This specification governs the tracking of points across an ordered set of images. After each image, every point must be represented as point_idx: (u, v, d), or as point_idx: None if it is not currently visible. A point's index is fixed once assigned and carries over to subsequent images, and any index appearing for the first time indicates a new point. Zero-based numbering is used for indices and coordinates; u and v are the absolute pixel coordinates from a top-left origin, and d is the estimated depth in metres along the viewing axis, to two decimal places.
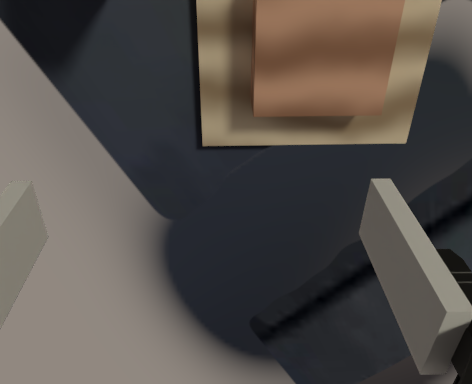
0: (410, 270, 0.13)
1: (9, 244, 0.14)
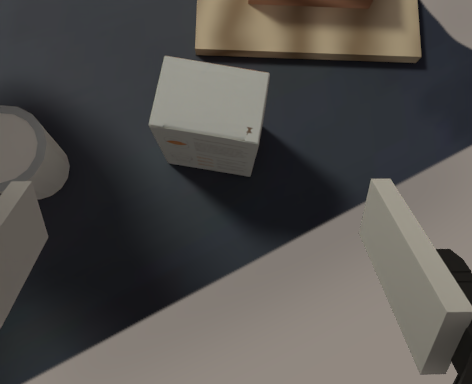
0: (410, 270, 0.13)
1: (9, 244, 0.14)
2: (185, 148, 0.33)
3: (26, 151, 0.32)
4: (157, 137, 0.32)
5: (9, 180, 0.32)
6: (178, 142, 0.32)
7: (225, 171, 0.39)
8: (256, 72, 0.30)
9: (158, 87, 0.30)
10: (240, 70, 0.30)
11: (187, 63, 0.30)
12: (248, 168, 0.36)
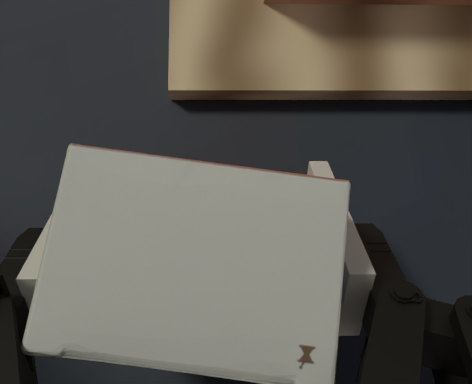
0: None
1: None
2: None
3: None
4: None
5: None
6: None
7: None
8: (316, 181, 0.11)
9: (49, 236, 0.11)
10: (272, 178, 0.11)
11: (129, 164, 0.11)
12: None
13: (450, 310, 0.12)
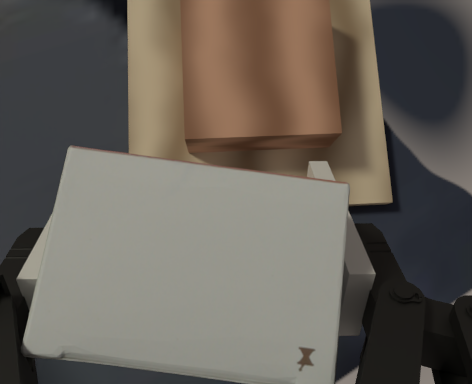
0: None
1: None
2: None
3: None
4: None
5: None
6: None
7: None
8: (316, 183, 0.11)
9: (49, 238, 0.11)
10: (272, 180, 0.11)
11: (129, 166, 0.11)
12: None
13: (450, 310, 0.12)
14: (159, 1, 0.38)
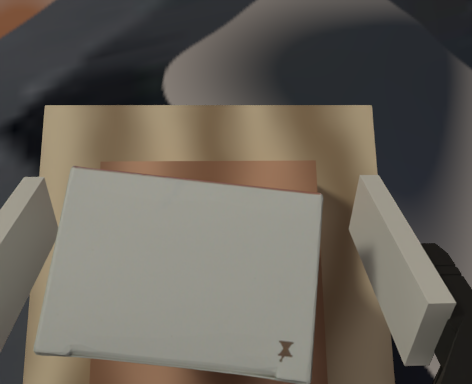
0: (395, 263, 0.13)
1: (23, 238, 0.14)
2: None
3: None
4: None
5: None
6: None
7: None
8: (293, 195, 0.13)
9: (56, 249, 0.12)
10: (253, 193, 0.13)
11: (125, 183, 0.13)
12: None
13: None
14: (85, 146, 0.28)
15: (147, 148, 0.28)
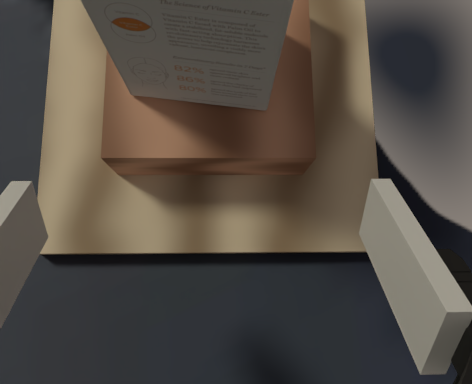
0: (410, 270, 0.13)
1: (9, 244, 0.14)
2: (150, 41, 0.18)
3: None
4: (91, 11, 0.16)
5: None
6: (134, 22, 0.17)
7: (225, 102, 0.23)
8: None
9: None
10: None
11: None
12: (265, 86, 0.21)
13: None
14: None
15: None
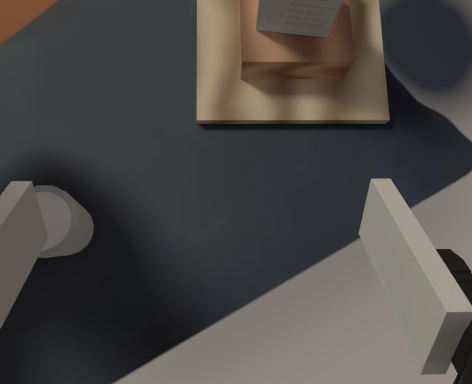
0: (410, 270, 0.13)
1: (9, 244, 0.14)
2: None
3: (62, 223, 0.39)
4: None
5: (49, 248, 0.39)
6: None
7: (307, 32, 0.45)
8: None
9: None
10: None
11: None
12: (331, 20, 0.42)
13: None
14: None
15: None
